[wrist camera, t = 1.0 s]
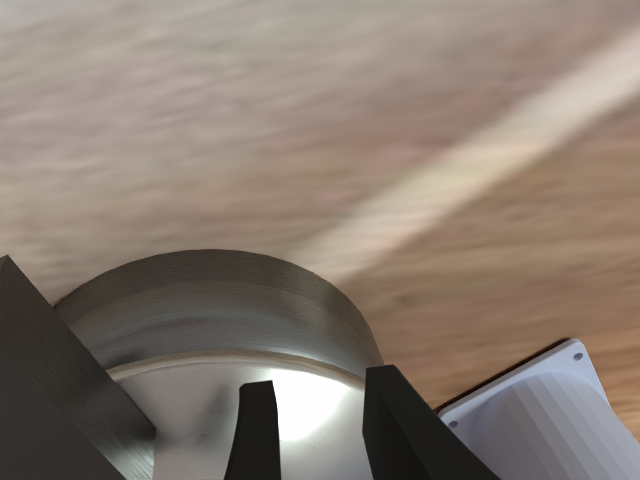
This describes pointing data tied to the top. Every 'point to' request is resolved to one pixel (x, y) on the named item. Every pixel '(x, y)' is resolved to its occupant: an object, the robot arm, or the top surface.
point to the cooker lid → (157, 405)
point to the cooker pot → (217, 310)
